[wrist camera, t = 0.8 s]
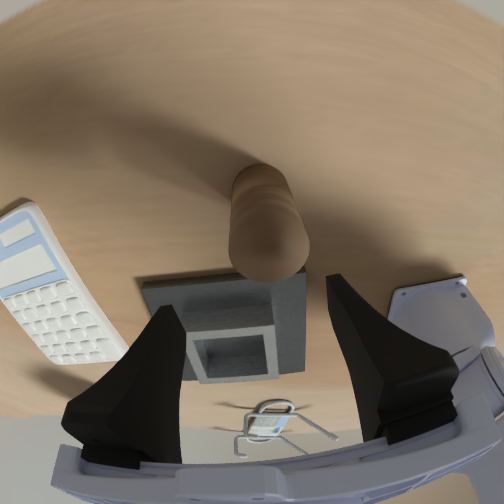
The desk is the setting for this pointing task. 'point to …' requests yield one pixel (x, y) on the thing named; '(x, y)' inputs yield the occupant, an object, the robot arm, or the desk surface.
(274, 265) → the wooden cylinder
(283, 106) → the desk surface
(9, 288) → the calculator
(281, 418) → the wall mount rack
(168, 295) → the docking plate
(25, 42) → the desk surface
